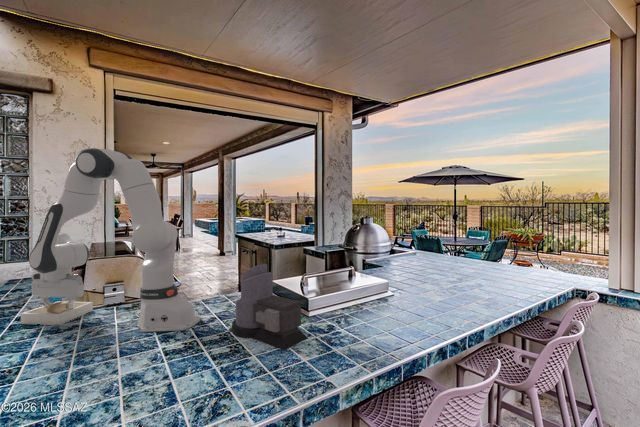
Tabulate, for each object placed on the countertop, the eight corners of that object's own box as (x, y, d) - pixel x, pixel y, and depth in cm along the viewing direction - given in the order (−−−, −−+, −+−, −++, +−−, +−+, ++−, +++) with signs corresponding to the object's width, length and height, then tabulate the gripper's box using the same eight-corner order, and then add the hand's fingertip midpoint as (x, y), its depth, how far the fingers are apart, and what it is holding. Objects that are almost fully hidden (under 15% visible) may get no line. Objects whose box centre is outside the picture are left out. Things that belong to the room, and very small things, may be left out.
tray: (92, 311, 138) (92, 302, 138) (59, 325, 122) (58, 314, 122) (58, 310, 139) (58, 301, 139) (20, 323, 124) (20, 313, 123)
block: (69, 313, 133) (69, 301, 133) (58, 317, 128) (58, 305, 128) (58, 313, 133) (58, 301, 133) (47, 317, 128) (46, 304, 128)
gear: (54, 304, 142) (40, 288, 143) (44, 314, 142) (30, 297, 143) (74, 300, 153) (62, 285, 154) (65, 309, 153) (52, 294, 154)
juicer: (220, 330, 117) (219, 263, 116) (254, 317, 130) (254, 257, 129) (279, 353, 99) (278, 274, 98) (312, 336, 111) (312, 266, 111)
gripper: (87, 272, 132) (88, 306, 133) (42, 271, 134) (43, 304, 135) (74, 276, 126) (75, 311, 126) (27, 275, 128) (28, 309, 128)
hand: (58, 307), depth 131 cm, fingers open, 8 cm apart
